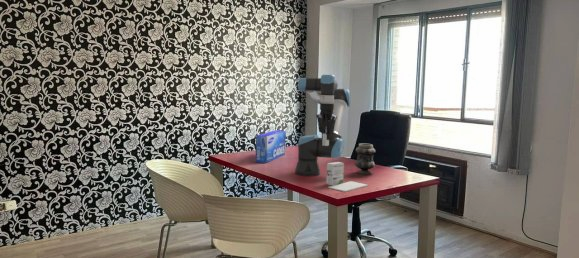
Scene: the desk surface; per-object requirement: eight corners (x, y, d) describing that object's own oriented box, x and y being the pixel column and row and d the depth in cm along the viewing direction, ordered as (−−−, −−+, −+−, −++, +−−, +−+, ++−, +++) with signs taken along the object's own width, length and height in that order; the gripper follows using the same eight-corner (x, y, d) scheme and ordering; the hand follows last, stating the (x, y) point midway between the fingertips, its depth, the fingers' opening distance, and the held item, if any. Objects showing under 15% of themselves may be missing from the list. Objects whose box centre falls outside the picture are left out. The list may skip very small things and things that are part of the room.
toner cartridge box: (266, 163, 294) (266, 136, 292) (254, 162, 297) (255, 135, 294) (285, 154, 331) (286, 130, 328) (275, 153, 333) (275, 129, 331)
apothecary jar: (378, 173, 270) (379, 144, 268) (366, 176, 262) (367, 146, 260) (362, 170, 279) (363, 142, 277) (350, 172, 270) (351, 143, 268)
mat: (328, 188, 231) (328, 186, 231) (351, 182, 245) (351, 181, 245) (345, 192, 224) (345, 190, 223) (367, 185, 238) (367, 184, 238)
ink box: (337, 182, 245) (338, 161, 244) (343, 184, 241) (344, 162, 240) (325, 183, 240) (326, 162, 239) (331, 185, 236) (332, 164, 235)
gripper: (312, 102, 243) (311, 144, 246) (332, 103, 233) (331, 147, 236) (321, 102, 248) (320, 143, 251) (341, 103, 239) (339, 146, 241)
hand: (325, 145), depth 244 cm, fingers closed
